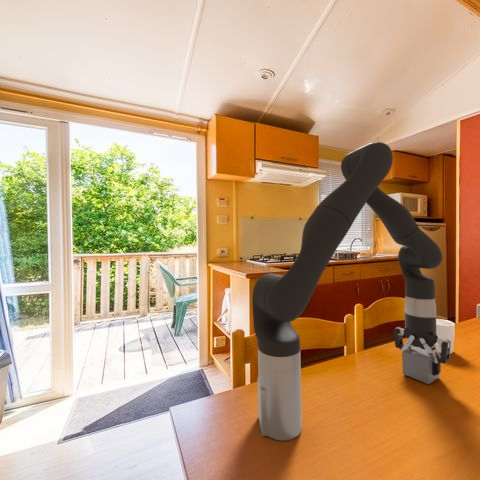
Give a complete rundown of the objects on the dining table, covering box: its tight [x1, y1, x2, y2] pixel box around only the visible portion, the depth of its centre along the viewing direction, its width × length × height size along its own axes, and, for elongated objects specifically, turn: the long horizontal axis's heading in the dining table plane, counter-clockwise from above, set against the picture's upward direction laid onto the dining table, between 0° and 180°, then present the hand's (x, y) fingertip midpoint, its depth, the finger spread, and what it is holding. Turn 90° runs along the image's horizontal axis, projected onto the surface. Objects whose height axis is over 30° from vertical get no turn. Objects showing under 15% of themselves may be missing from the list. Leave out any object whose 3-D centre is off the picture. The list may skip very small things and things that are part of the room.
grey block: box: [401, 346, 440, 385], centre depth 75 cm, size 7×7×7 cm
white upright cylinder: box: [434, 318, 456, 355], centre depth 92 cm, size 8×8×10 cm
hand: (420, 369), depth 75 cm, fingers closed on grey block, 6 cm apart
